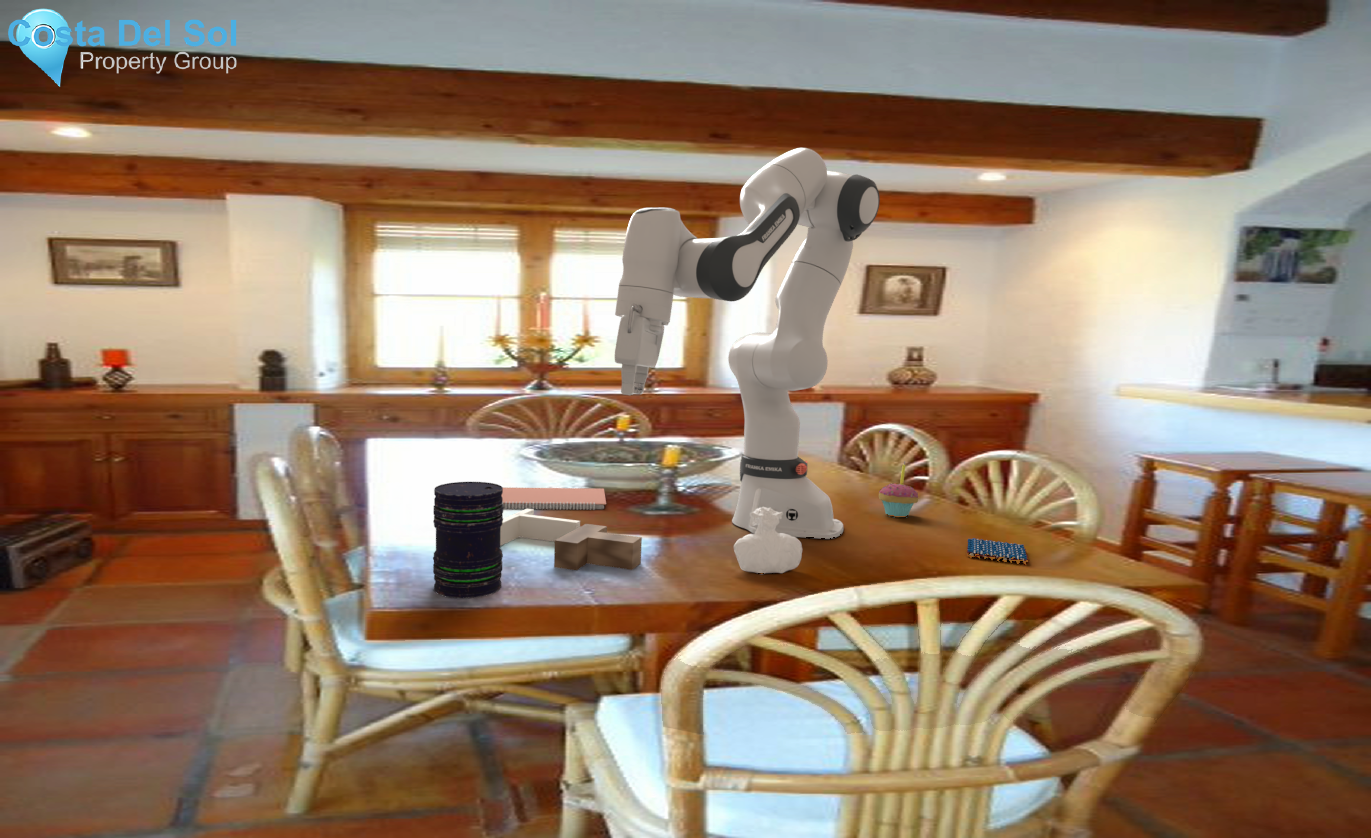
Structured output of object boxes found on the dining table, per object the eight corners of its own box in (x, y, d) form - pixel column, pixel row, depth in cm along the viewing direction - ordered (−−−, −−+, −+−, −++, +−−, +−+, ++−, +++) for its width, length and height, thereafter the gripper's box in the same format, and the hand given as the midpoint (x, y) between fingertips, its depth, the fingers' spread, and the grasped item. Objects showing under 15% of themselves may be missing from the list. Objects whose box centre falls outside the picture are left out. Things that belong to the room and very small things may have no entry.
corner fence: (588, 537, 147) (589, 516, 147) (518, 577, 122) (519, 552, 122) (526, 529, 151) (526, 508, 150) (446, 566, 126) (446, 542, 126)
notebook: (475, 511, 165) (475, 502, 165) (484, 494, 182) (484, 486, 182) (606, 512, 169) (606, 503, 169) (603, 495, 186) (603, 487, 185)
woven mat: (1029, 569, 140) (1030, 558, 140) (966, 560, 143) (967, 549, 143) (1025, 554, 150) (1026, 543, 149) (966, 546, 153) (967, 536, 153)
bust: (797, 579, 134) (785, 518, 140) (814, 563, 128) (800, 500, 133) (730, 583, 131) (720, 520, 136) (744, 566, 125) (732, 501, 130)
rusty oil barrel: (436, 601, 111) (437, 497, 109) (429, 580, 120) (429, 483, 118) (508, 594, 115) (509, 493, 113) (496, 574, 124) (497, 480, 122)
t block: (649, 557, 136) (650, 531, 136) (622, 577, 125) (623, 549, 124) (585, 548, 140) (585, 523, 139) (554, 567, 128) (554, 540, 128)
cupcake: (886, 509, 181) (890, 457, 179) (922, 515, 176) (927, 462, 175) (871, 515, 174) (875, 461, 172) (909, 522, 169) (913, 467, 168)
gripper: (653, 304, 116) (640, 398, 117) (671, 316, 136) (660, 395, 137) (611, 299, 116) (599, 392, 117) (635, 311, 137) (624, 390, 138)
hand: (632, 394), depth 127 cm, fingers open, 8 cm apart
